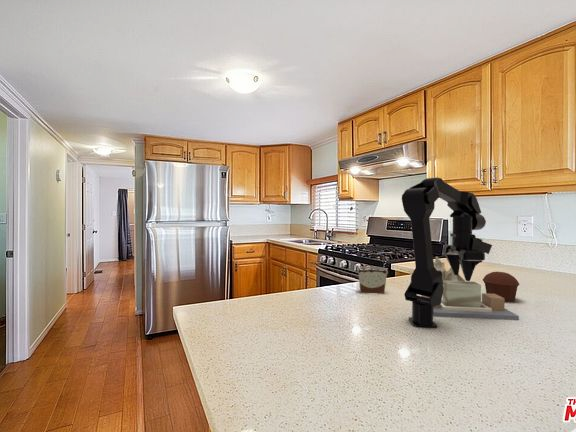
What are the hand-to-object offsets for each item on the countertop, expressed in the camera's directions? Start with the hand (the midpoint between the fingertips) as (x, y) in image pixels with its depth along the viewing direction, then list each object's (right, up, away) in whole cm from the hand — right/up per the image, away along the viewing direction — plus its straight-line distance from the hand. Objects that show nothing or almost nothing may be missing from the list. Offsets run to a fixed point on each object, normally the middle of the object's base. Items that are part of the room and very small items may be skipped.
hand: (461, 277), depth 105 cm
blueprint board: (0, -11, 0) cm, 11 cm away
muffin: (+22, -11, +14) cm, 29 cm away
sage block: (0, -10, 0) cm, 10 cm away
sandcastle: (+8, -11, +27) cm, 30 cm away
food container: (-24, -11, +24) cm, 36 cm away
